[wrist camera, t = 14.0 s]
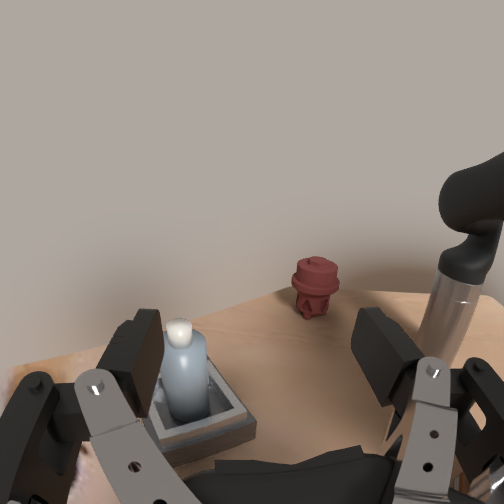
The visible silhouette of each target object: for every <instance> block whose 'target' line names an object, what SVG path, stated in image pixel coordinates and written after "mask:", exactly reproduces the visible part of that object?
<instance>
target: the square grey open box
mask: <svg viewBox="0 0 504 504" xmlns="http://www.w3.org/2000/svg"><path fill="white" fill-rule="evenodd" d="M207 370H208V387H209V402H210V409H209V412H208V414H207V415H206V416H205V417H204V418H202V419H201V420H198V421H195V422H183V421H180V420H178V419H176V418H174V417H173V416H172V415H171V414H170V412H169V410H168V406H167V401H166V397H165V392H164V388H163V383H162V378H161V373H160V372H159V375H158V379H157V383H156V386H155V390H154V394H153V398H152V402H151V406H150V410H149V414H148V418H147V419H146V418H142V420H143V423H144V426H145V428H146V431H147V433H148V434H149V436H150V437H151V439H152V440H153V442H154V443H155V445H156V446H157V448H158V449H159V451H160V452H161V453H162V455H163V456H164V458H165V459H166V460H167V462H168V463H169V464H170V466H171V467H175V466H179V465H182V464H186V463H189V462H192V461H195V460H199V459H202V458H205V457H208V456H211V455H213V454H216V453H219V452H222V451H225V450H227V449H230V448H232V447H235V446H237V445H240V444H242V443H245V442H247V441H250V440H252V439H254V438H255V434H256V423H257V421H256V419H255V418H254V417H253V416H252V414H251V413H250V412H249V411H248V409H247V408H246V407H245V406H244V404H243V403H242V402H241V400H240V399H239V398H238V397H237V395H236V394H235V393H234V391H233V390H232V389H231V387H230V386H229V385H228V383H227V382H226V381H225V379H224V378H223V377H222V375H221V374H220V372H219V371H218V370H217V368H216V367H215V365H214V364H213V363H212V361H211V360H210V358H209V357H208V356H207Z"/></svg>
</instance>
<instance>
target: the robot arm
mask: <svg viewBox="0 0 504 504" xmlns="http://www.w3.org/2000/svg"><path fill="white" fill-rule="evenodd" d="M439 212H440V215H441V218H442V219H443V221H444V223H445V224H446V225H447V226H448V227H450V228H451V229H453V230H455V231H457V232H462V233H467V234H469V235H468V237H467V239H466V240H465V241H464V242H463V243H462V244H460V245H458V246H456V247H453V248H450V249H447V250H445V251H443V252H442V254H441V256H440V259H439V264H438V268H437V273H436V276H435V280H434V284H433V288H432V291H431V295H430V298H429V301H428V304H427V308H426V311H425V314H424V317H423V320H422V323H421V325H420V328H419V331H418V334H417V336H416V339H415V341H414V342H413V341H412V340H411V338H409V336H408V335H407V334H406V332H404V330H403V329H402V328H401V326H400V325H399V324H398V323H396V322H395V321H393V320H392V319H390V318H389V317H386V315H385V314H384V313H383V312H382V311H381V310H380V308H378V307H369V308H361V309H360V310H359V312H358V315H357V319H356V323H355V327H354V330H353V334H352V338H351V349H352V352H353V354H354V356H355V358H356V360H357V361H358V363H359V365H360V367H361V369H362V371H363V372H364V374H365V376H366V378H367V380H368V382H369V384H370V385H371V387H372V389H373V391H374V393H375V395H376V397H377V399H378V401H379V403H380V404H381V406H382V407H384V406H388V405H392V404H393V405H394V407H395V408H394V409H393V411H392V413H391V417H390V420H389V423H388V426H387V430H386V433H385V436H384V439H383V442H382V444H381V447H380V449H379V451H378V453H377V454H367V453H363V451H362V448H361V446H360V445H358V446H354V447H349V448H345V449H340V450H335V451H329V452H326V453H324V454H321V455H319V456H316V457H314V458H311V459H309V460H306V461H303V462H300V463H298V464H293V465H288V464H278V463H270V462H263V461H257V460H215V469H211V470H206V471H203V472H199V473H197V474H194V475H191V476H189V477H187V478H185V479H183V480H181V479H180V477H179V476H178V475H177V474H176V472H175V471H174V470H173V468H172V467H171V466H170V464H169V463H168V462H167V460H166V459H165V458H164V456H163V455H162V453H161V452H160V451H159V449H158V448H157V446H156V445H155V443H154V442H153V440H152V439H151V437H150V436H149V434H148V433H147V431H146V429H145V428H144V426H143V425H142V423H141V422H140V420H137V417H139V418H146V419H147V418H148V414H149V410H150V406H151V402H152V398H153V394H154V390H155V386H156V383H157V379H158V375H159V372H160V368H161V364H162V361H163V357H164V351H165V344H164V337H163V331H162V324H161V318H160V312H159V310H157V309H139V310H138V312H137V314H136V316H135V317H134V320H133V321H132V320H127V321H125V322H124V323H123V324H121V325H120V326H119V327H118V328H117V330H116V332H115V333H114V335H113V338H112V339H111V341H110V344H108V346H107V348H106V350H105V352H104V353H103V355H102V357H101V359H100V361H99V363H98V365H97V367H96V369H91V370H88V371H85V372H83V373H82V374H81V375H80V376H79V377H78V378H77V379H76V381H75V383H58V384H54V382H53V380H52V378H51V376H50V375H49V374H47V373H45V372H41V371H37V372H32V373H30V374H28V375H26V376H25V377H24V378H23V379H22V380H21V382H20V383H19V385H18V387H17V388H16V390H15V392H14V394H13V395H12V397H11V399H10V401H9V403H8V404H7V406H6V408H5V410H4V412H3V414H2V416H1V418H0V504H67V499H68V494H69V490H70V485H71V481H72V477H73V473H74V469H75V465H76V461H77V458H78V454H79V450H80V447H81V443H82V441H90V442H91V445H92V447H93V449H94V452H95V454H96V456H97V458H98V460H99V463H100V465H101V467H102V469H103V471H104V473H105V475H106V477H107V479H108V481H109V483H110V484H111V486H112V488H113V490H114V492H115V493H116V495H117V497H118V499H119V500H120V502H121V504H504V382H503V381H502V379H501V378H500V377H499V376H498V374H497V373H496V372H495V371H494V370H493V368H492V367H491V366H490V365H489V364H488V363H487V362H486V361H484V360H483V359H480V358H476V357H472V358H469V359H468V360H467V361H466V363H465V364H464V366H463V368H462V369H450V366H451V364H452V362H453V360H454V358H455V356H456V354H457V352H458V350H459V347H460V345H461V343H462V341H463V338H464V336H465V334H466V331H467V329H468V326H469V324H470V321H471V319H472V316H473V313H474V311H475V308H476V305H477V302H478V299H479V296H480V293H481V289H482V286H483V283H484V280H485V277H486V274H487V273H488V271H489V270H490V268H491V266H492V264H493V261H494V258H495V254H496V250H497V247H498V243H499V239H500V235H501V230H502V226H503V221H504V152H503V153H501V154H499V155H497V156H495V157H493V158H492V159H490V160H488V161H486V162H484V163H482V164H479V165H477V166H473V167H470V168H467V169H464V170H460V171H458V172H455V173H453V174H452V175H450V176H449V177H448V179H447V180H446V181H445V183H444V185H443V187H442V189H441V191H440V195H439ZM475 401H476V403H477V404H478V406H479V407H480V408H481V410H482V411H483V413H484V415H485V417H486V425H485V427H484V428H483V430H482V431H481V429H480V428H479V426H478V424H477V423H476V421H475V419H474V418H473V416H472V415H471V413H470V412H469V410H470V408H471V407H472V406H473V404H474V403H475ZM454 453H455V455H456V457H457V459H458V461H459V463H460V465H461V467H462V469H463V471H464V473H465V475H466V478H467V480H468V482H469V484H470V492H469V493H468V494H467V495H466V494H464V493H462V492H459V491H457V490H454V489H452V488H450V487H449V484H450V479H451V473H452V467H453V460H454Z"/></svg>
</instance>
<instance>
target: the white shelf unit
mask: <svg viewBox="0 0 504 504" xmlns="http://www.w3.org/2000/svg"><path fill="white" fill-rule="evenodd" d="M454 490H457V491H459V492H462V493H464V494H466V495H467V494H468V493H469V492H470V484H469V482H468V480H467V478H466V475H465V473H464V471H463V472H462V473H461V474H460V475H459V476H457V477H456V478H455V479H454Z"/></svg>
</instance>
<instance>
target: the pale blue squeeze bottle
mask: <svg viewBox="0 0 504 504" xmlns="http://www.w3.org/2000/svg"><path fill="white" fill-rule="evenodd" d="M166 327H167V331H165V332H163V337H164V344H165V351H164V357H163V361H162V364H161V368H160V373H161V378H162V383H163V388H164V392H165V397H166V401H167V406H168V410H169V412H170V414H171V415H172V416H173V417H174V418H176V419H178V420H180V421H183V422H195V421H198V420H201V419H202V418H204V417H205V416H206V415H207V414H208V412H209V409H210V402H209V387H208V370H207V350H206V339H205V337H204V336H203V335H202V334H201V333H200V332H198V331H196V330H193V329H192V324H191V322H190V321H189V320H187V319H183V318H176V319H172V320H170V321H169V322H168V323H167V325H166Z"/></svg>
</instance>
